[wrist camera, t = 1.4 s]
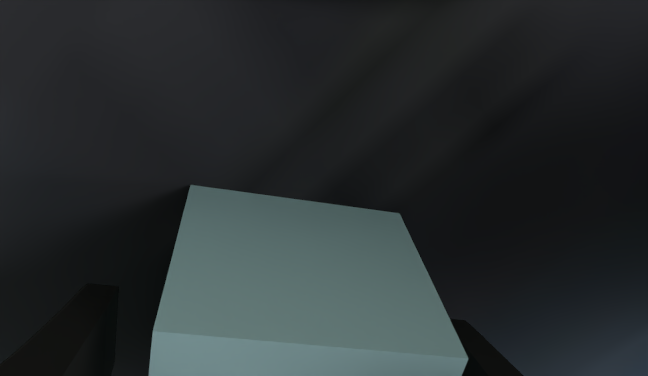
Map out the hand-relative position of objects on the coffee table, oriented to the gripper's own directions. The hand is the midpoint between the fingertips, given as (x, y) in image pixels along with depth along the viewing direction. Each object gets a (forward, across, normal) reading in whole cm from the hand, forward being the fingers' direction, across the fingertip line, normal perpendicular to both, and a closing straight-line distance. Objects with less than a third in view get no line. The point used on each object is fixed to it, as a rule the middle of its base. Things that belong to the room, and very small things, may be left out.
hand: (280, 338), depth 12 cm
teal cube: (+2, 0, 0) cm, 2 cm away
